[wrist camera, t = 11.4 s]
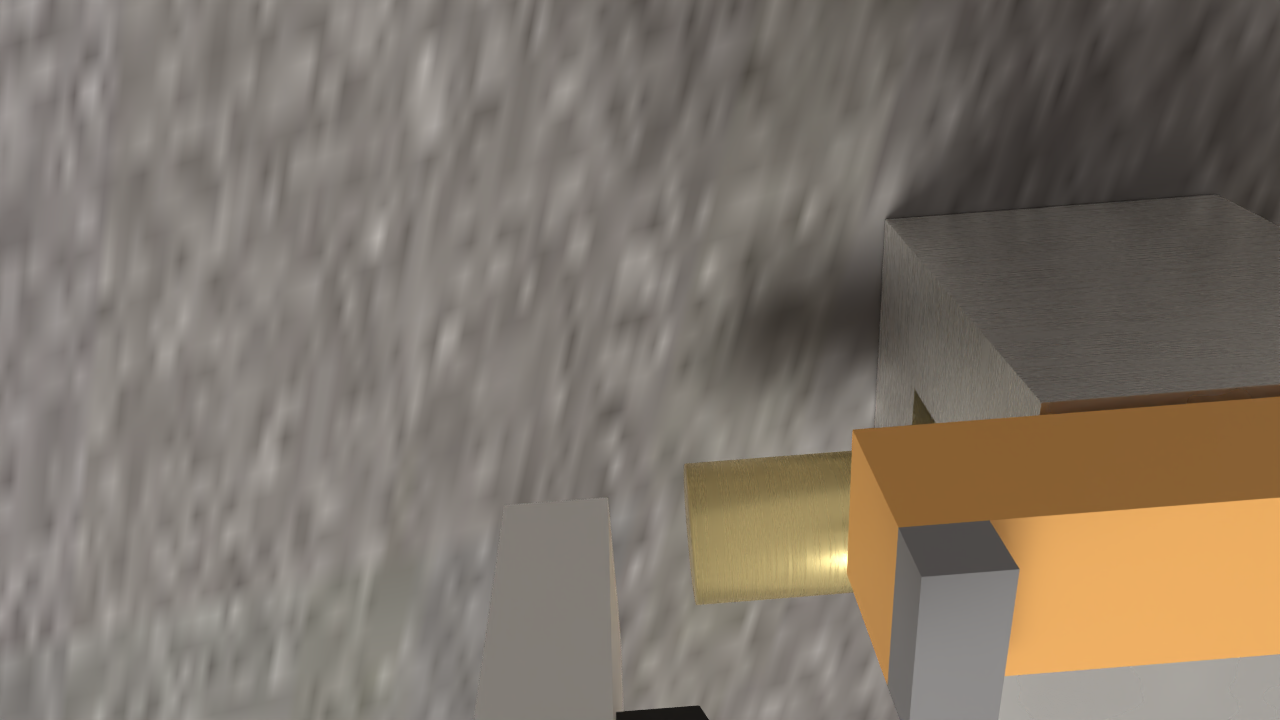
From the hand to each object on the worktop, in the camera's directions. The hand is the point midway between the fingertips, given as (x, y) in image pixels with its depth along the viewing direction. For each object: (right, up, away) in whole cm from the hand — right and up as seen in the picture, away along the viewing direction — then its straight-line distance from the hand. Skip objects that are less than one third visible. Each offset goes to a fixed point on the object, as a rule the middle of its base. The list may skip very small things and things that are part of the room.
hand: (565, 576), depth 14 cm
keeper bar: (+9, +1, +1) cm, 10 cm away
